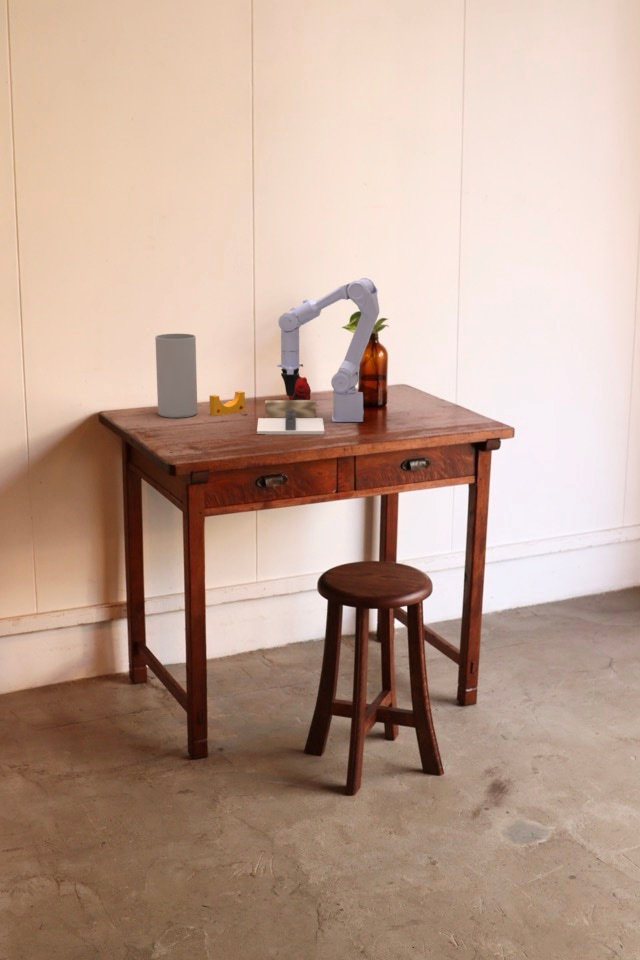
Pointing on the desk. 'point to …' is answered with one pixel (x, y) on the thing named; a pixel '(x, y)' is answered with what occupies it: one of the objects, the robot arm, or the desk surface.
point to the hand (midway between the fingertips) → (290, 393)
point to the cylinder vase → (176, 375)
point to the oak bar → (279, 408)
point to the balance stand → (290, 425)
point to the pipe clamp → (227, 404)
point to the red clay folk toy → (301, 389)
